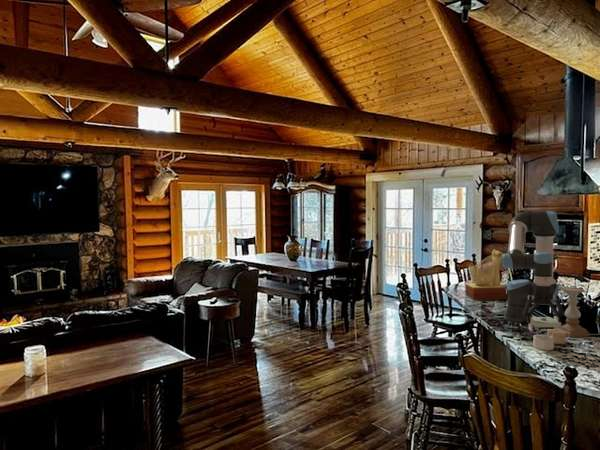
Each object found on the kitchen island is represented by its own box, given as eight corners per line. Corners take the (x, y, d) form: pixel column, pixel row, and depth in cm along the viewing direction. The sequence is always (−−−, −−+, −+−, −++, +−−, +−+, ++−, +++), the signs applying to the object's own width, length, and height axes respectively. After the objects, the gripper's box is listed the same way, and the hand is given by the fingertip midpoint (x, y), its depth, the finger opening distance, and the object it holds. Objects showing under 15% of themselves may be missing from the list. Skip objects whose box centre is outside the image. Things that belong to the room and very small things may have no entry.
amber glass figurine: (498, 294, 335) (498, 248, 333) (509, 299, 317) (509, 250, 315) (465, 295, 335) (464, 249, 334) (474, 300, 317) (473, 251, 316)
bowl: (530, 344, 218) (530, 334, 218) (548, 344, 217) (548, 334, 217) (538, 350, 210) (538, 339, 210) (556, 350, 209) (556, 339, 209)
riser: (547, 339, 225) (547, 329, 225) (559, 339, 224) (559, 329, 224) (552, 343, 219) (552, 332, 219) (565, 343, 218) (565, 332, 218)
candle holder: (555, 331, 238) (555, 287, 237) (575, 330, 239) (575, 286, 238) (570, 337, 227) (569, 291, 226) (590, 336, 228) (590, 290, 227)
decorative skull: (483, 290, 352) (482, 264, 351) (475, 283, 378) (475, 260, 377) (506, 290, 349) (506, 264, 348) (497, 283, 375) (497, 260, 374)
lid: (526, 321, 219) (526, 315, 219) (550, 321, 218) (550, 315, 218) (536, 327, 208) (536, 321, 208) (561, 327, 207) (561, 321, 207)
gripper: (520, 286, 210) (520, 332, 210) (573, 285, 207) (573, 332, 208) (514, 283, 217) (514, 328, 218) (565, 283, 215) (565, 328, 216)
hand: (543, 330), depth 213 cm, fingers closed on lid, 11 cm apart
